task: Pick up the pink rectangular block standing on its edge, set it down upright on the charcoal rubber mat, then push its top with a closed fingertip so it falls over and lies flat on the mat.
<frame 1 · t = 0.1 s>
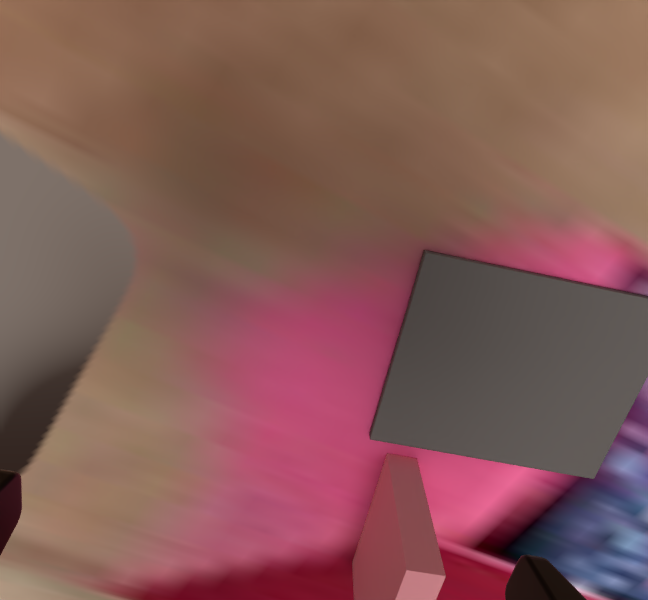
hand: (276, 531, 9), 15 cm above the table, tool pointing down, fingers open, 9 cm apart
mat: (515, 372, 24), on the table
pink rectangular block: (382, 512, 28), on the table
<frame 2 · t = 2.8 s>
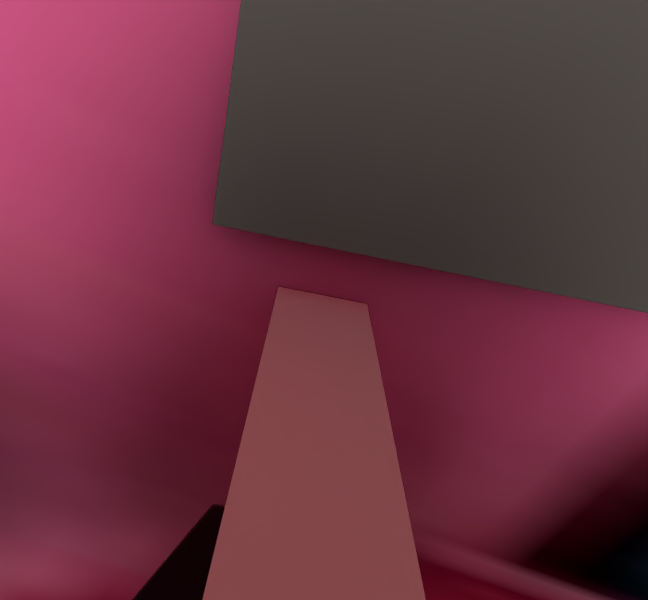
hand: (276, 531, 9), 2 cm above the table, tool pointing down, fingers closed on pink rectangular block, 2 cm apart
pink rectangular block: (283, 471, 10), on the table, touching gripper
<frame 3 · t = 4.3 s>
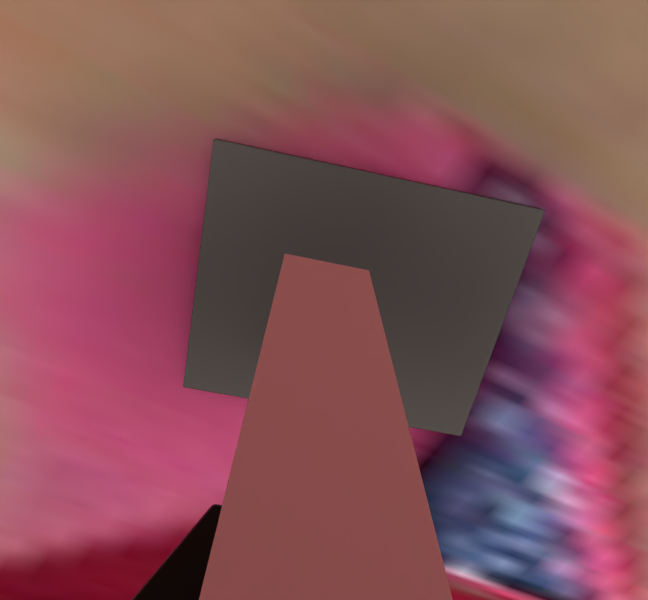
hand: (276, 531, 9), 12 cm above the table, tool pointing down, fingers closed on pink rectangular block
mat: (351, 301, 20), on the table
pink rectangular block: (288, 435, 11), point 10 cm above the table, touching gripper
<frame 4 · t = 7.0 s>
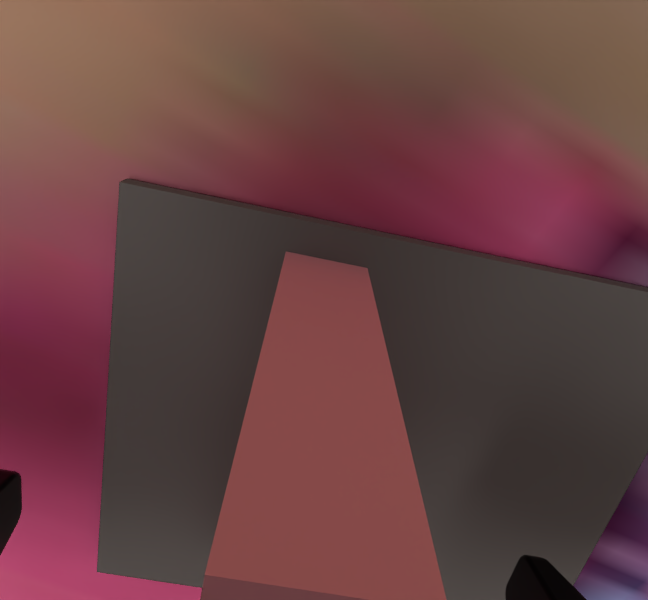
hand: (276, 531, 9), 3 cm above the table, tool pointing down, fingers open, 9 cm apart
mat: (372, 445, 12), on the table
pink rectangular block: (289, 428, 11), resting on mat
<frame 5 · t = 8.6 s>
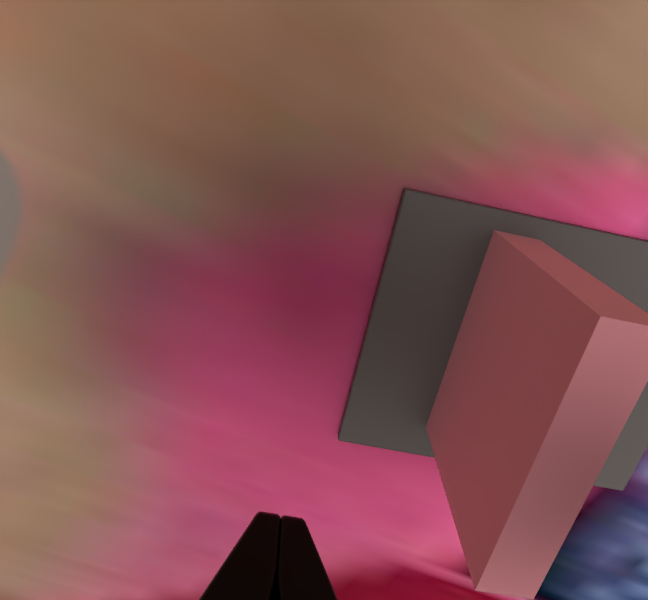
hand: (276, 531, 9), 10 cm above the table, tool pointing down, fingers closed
mat: (524, 353, 19), on the table
pink rectangular block: (478, 340, 18), resting on mat
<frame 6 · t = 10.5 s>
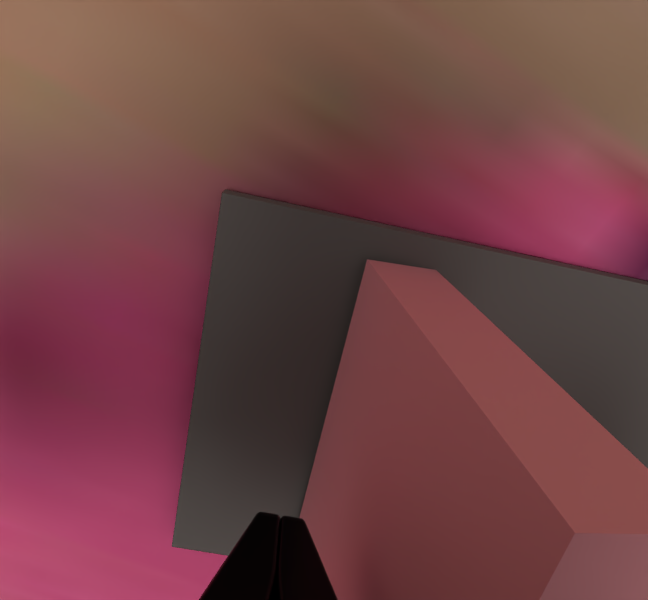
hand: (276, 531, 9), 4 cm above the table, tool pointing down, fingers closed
mat: (428, 430, 13), on the table
pink rectangular block: (357, 418, 12), point 1 cm above the table, tilted 11°, touching gripper, mat
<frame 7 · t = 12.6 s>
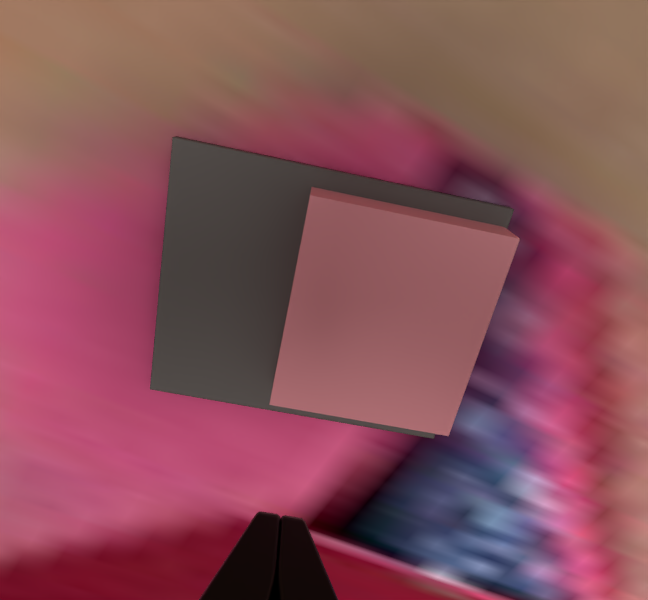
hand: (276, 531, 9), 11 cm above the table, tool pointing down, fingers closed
mat: (318, 301, 20), on the table
pink rectangular block: (289, 300, 18), point 1 cm above the table, tilted 90°, touching mat
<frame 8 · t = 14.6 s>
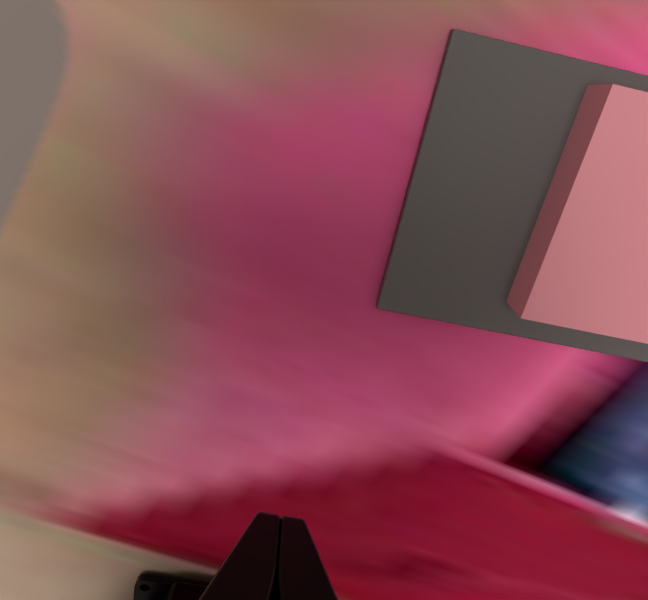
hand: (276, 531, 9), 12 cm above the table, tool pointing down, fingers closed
mat: (564, 214, 19), on the table
pink rectangular block: (552, 206, 18), point 1 cm above the table, tilted 90°, touching mat
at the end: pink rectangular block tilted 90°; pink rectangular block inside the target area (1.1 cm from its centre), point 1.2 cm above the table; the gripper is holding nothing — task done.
